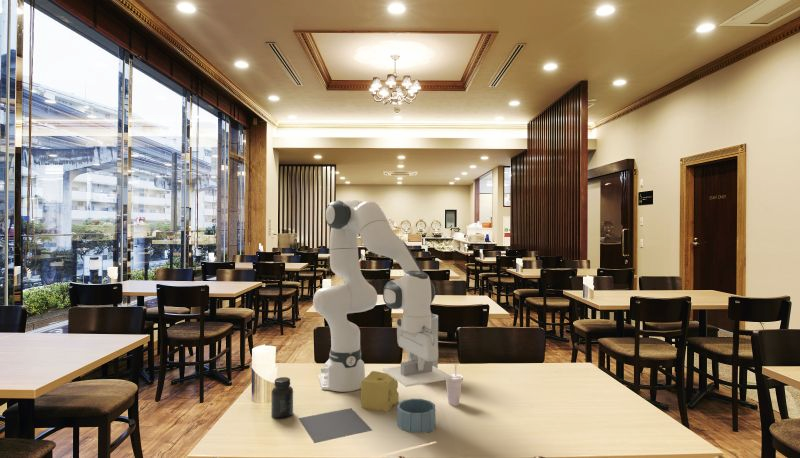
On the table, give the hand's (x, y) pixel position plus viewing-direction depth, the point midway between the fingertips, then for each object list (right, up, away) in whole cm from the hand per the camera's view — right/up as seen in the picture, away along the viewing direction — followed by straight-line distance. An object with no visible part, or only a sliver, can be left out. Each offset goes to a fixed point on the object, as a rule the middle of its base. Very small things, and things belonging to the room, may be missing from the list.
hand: (416, 367), depth 141 cm
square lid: (0, -2, 0) cm, 2 cm away
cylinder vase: (+4, -18, +45) cm, 49 cm away
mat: (-26, -18, 0) cm, 31 cm away
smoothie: (+14, -18, +17) cm, 29 cm away
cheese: (-12, -18, +15) cm, 27 cm away
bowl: (0, -18, 0) cm, 18 cm away
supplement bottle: (-44, -18, +6) cm, 47 cm away
